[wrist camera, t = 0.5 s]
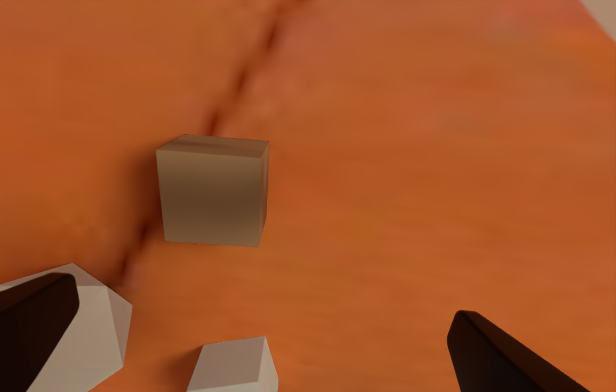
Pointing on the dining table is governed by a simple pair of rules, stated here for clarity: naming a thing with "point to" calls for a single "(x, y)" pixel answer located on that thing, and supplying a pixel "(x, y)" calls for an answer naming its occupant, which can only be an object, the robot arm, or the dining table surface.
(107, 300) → the pale faceted polyhedron
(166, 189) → the walnut block
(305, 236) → the dining table surface
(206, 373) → the grey block
